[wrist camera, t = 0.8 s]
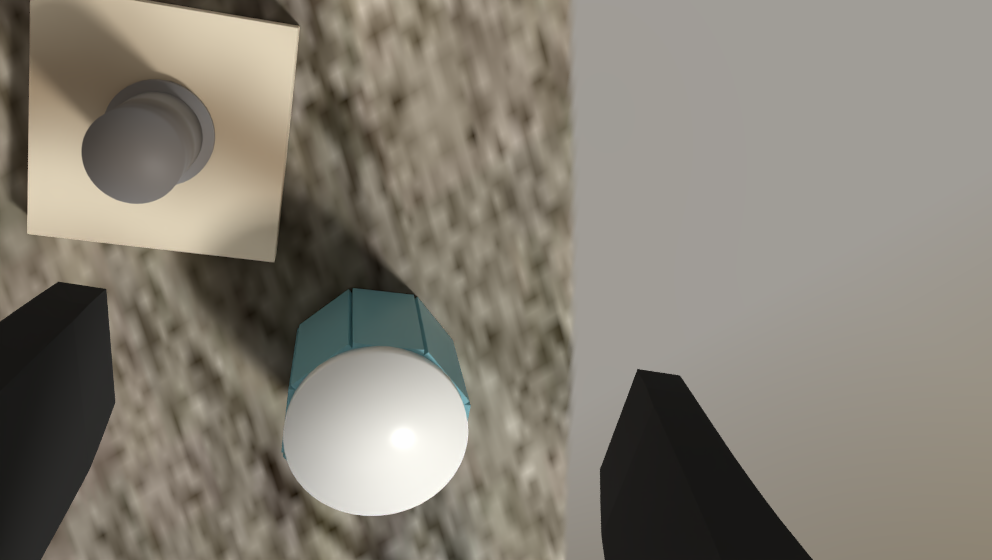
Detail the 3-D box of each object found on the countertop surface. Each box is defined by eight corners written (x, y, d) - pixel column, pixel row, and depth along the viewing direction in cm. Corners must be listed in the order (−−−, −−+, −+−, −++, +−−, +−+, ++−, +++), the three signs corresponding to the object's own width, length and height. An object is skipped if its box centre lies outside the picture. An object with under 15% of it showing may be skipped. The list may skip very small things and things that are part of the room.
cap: (437, 437, 31) (452, 521, 26) (286, 425, 30) (274, 510, 25) (461, 300, 30) (482, 362, 25) (302, 282, 28) (293, 344, 24)
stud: (276, 252, 28) (264, 303, 24) (38, 224, 27) (-20, 272, 22) (299, 25, 26) (290, 37, 22) (42, -18, 25) (-22, -15, 20)
